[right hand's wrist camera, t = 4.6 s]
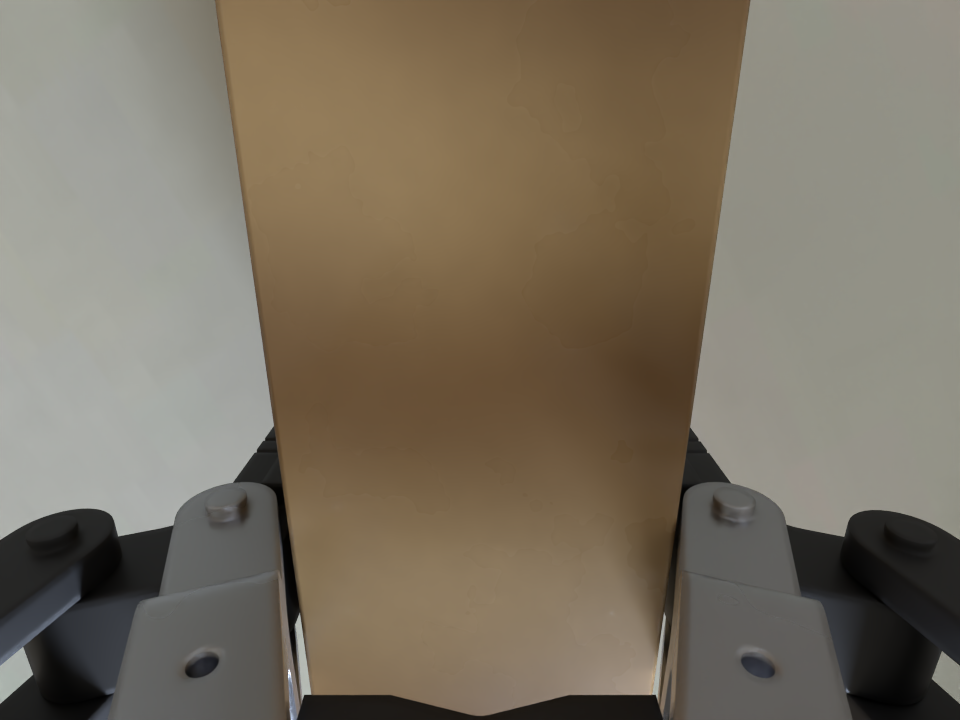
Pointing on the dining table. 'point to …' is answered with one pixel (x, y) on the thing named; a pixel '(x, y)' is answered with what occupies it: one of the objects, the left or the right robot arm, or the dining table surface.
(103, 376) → the dining table surface
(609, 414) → the bar
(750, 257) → the dining table surface
